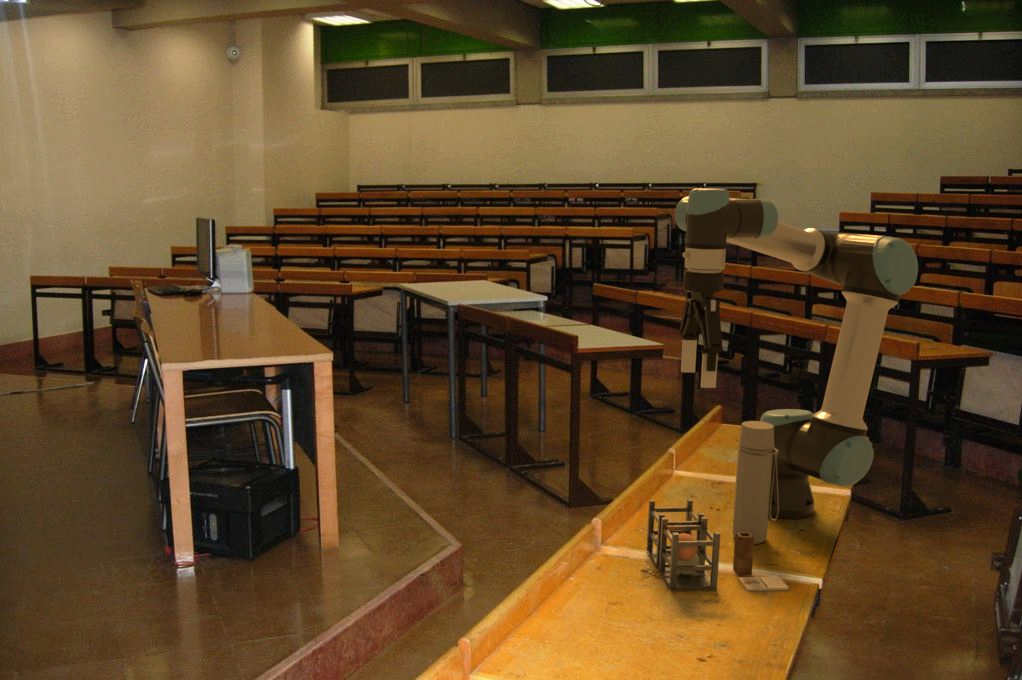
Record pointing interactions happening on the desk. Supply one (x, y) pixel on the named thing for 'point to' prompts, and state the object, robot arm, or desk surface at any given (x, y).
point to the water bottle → (754, 479)
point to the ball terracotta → (686, 548)
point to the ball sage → (692, 561)
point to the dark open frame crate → (697, 579)
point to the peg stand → (743, 553)
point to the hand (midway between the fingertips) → (697, 379)
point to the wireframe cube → (651, 533)
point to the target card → (763, 583)
